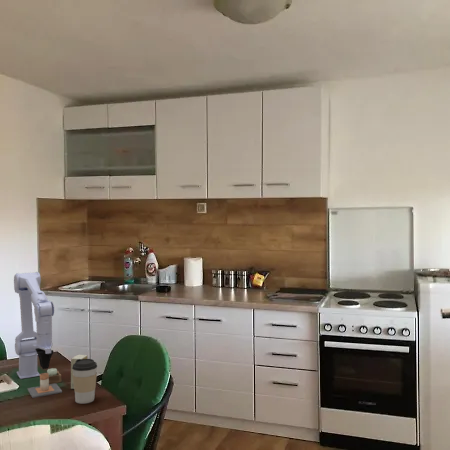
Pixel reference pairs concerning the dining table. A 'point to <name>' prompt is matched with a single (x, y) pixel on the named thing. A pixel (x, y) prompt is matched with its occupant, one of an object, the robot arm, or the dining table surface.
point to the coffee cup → (84, 380)
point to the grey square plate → (38, 393)
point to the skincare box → (72, 366)
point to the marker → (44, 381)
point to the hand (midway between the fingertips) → (44, 367)
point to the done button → (52, 372)
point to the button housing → (55, 378)
